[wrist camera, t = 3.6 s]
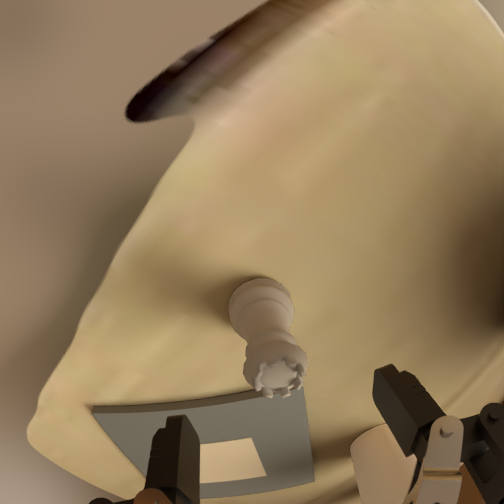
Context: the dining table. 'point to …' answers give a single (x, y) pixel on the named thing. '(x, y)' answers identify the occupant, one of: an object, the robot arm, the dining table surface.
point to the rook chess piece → (268, 337)
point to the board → (226, 439)
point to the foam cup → (381, 467)
